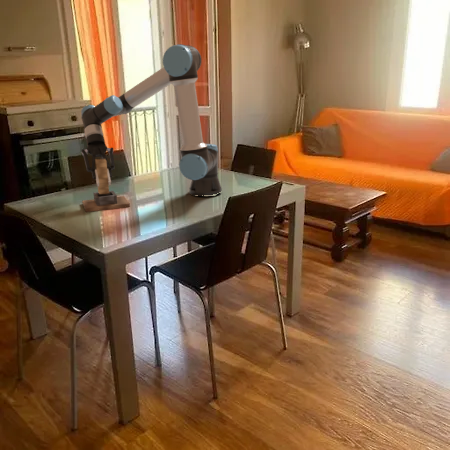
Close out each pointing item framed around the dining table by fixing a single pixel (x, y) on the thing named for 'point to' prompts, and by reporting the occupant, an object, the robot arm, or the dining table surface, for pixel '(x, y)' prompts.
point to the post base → (105, 202)
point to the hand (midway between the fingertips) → (104, 184)
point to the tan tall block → (102, 176)
